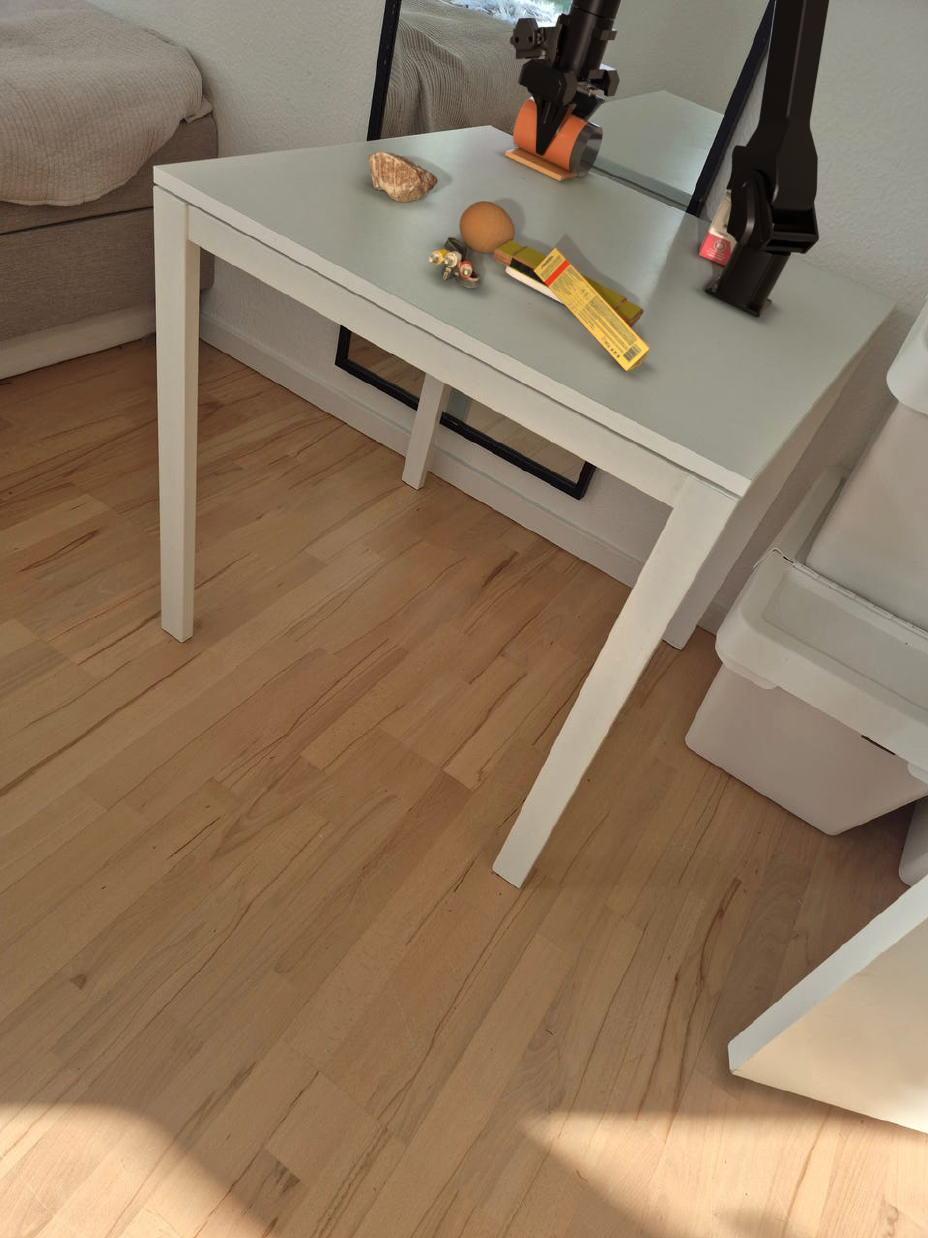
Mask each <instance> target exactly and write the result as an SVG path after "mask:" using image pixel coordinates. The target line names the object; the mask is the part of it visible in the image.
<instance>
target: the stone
mask: <svg viewBox="0 0 928 1238" xmlns="http://www.w3.org/2000/svg"><path fill="white" fill-rule="evenodd" d="M367 160H368V164H369V170H370V174H371V179H372V184H373V188H374V189H375V190H378V191H385V192H386V194H387V195H388V196H389V197H390V198H391V199H392V200H395V201H396V202H400V203H410V202H413V201H417V200H420V199H422V198H424V197H425V196H426V195H427V194H428V193H429V192H430V191H431V190H433V189H434V188H435V186H436V185H437V184H438V181H439V179H438V177H437V176H436V175H435V174H433V173H432V172H430V171H428V170H427V169H424V168H423V167H422V166H421V165H417V164H416V163H415V162H413V161H412V160H410V159H408V158H406V157H405V156H402V155H399V154H395V153H393V152H389V151H379V152H375V153H372V154H370V155H368V156H367Z"/></svg>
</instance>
